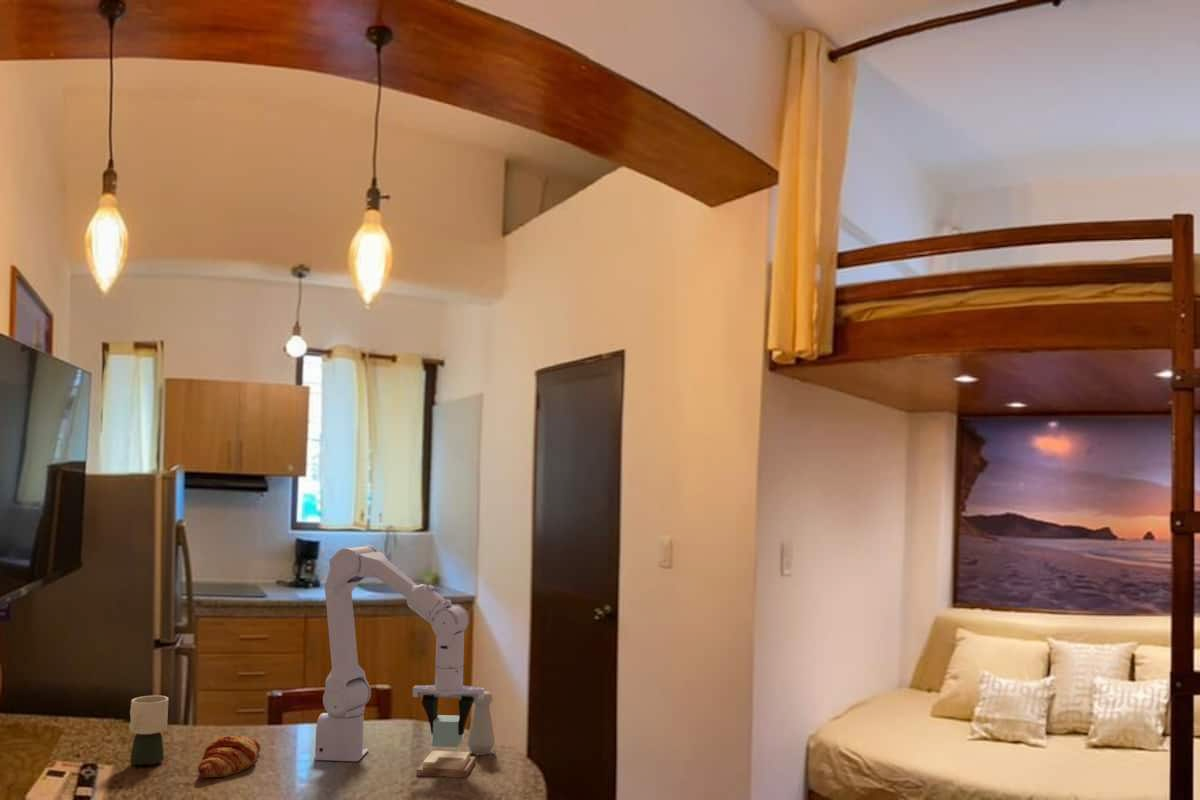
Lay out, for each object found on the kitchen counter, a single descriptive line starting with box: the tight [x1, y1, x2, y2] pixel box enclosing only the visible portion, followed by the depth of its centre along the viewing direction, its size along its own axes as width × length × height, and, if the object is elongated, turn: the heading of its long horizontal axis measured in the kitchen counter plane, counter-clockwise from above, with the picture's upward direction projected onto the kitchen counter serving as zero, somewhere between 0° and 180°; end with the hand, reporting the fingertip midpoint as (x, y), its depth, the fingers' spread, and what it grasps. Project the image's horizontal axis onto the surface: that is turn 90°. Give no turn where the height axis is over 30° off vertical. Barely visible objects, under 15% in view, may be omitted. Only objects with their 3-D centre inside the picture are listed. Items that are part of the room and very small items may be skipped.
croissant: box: [197, 735, 262, 779], centre depth 203 cm, size 21×10×8 cm, turn 171°
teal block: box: [432, 714, 463, 748], centre depth 205 cm, size 5×5×5 cm
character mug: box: [128, 695, 169, 767], centre depth 204 cm, size 11×7×13 cm, turn 169°
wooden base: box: [416, 750, 476, 778], centre depth 204 cm, size 10×10×2 cm
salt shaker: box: [467, 690, 496, 756], centre depth 216 cm, size 6×6×13 cm
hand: (447, 733), depth 205 cm, fingers closed on teal block, 5 cm apart
